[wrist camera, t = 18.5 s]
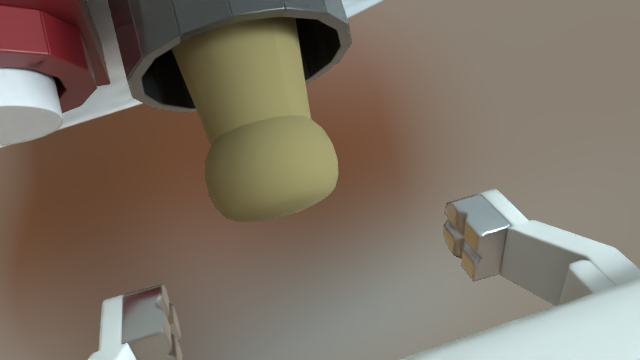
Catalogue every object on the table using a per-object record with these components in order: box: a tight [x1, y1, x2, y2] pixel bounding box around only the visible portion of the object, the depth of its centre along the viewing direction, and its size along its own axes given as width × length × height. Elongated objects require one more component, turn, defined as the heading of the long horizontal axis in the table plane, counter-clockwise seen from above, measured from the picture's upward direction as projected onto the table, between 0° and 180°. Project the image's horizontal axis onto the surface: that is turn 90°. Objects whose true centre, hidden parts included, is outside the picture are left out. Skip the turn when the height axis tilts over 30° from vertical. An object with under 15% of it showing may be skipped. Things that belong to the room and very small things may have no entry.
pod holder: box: [108, 0, 352, 112], centre depth 21 cm, size 9×9×6 cm
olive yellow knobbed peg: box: [172, 16, 338, 222], centre depth 20 cm, size 6×6×11 cm
